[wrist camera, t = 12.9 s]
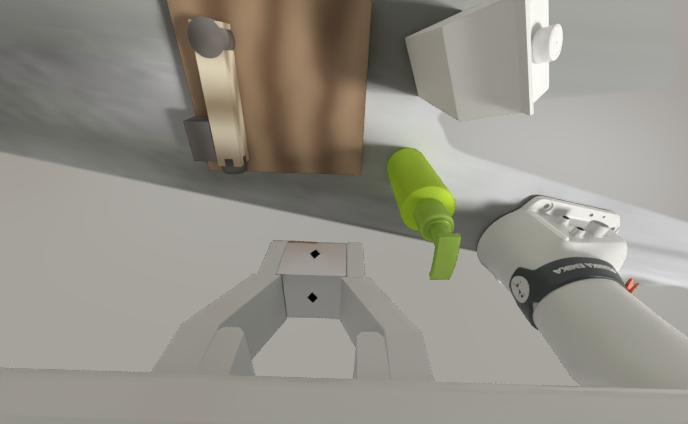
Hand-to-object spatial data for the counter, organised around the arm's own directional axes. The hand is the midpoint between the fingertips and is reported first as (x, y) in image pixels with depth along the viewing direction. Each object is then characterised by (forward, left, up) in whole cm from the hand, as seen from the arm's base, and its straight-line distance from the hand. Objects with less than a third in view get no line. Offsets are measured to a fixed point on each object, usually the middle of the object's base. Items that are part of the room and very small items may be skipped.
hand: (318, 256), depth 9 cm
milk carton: (-12, -6, -31) cm, 34 cm away
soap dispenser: (-10, +9, -31) cm, 34 cm away
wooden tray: (+8, -1, -31) cm, 32 cm away
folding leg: (+14, 0, -28) cm, 32 cm away
